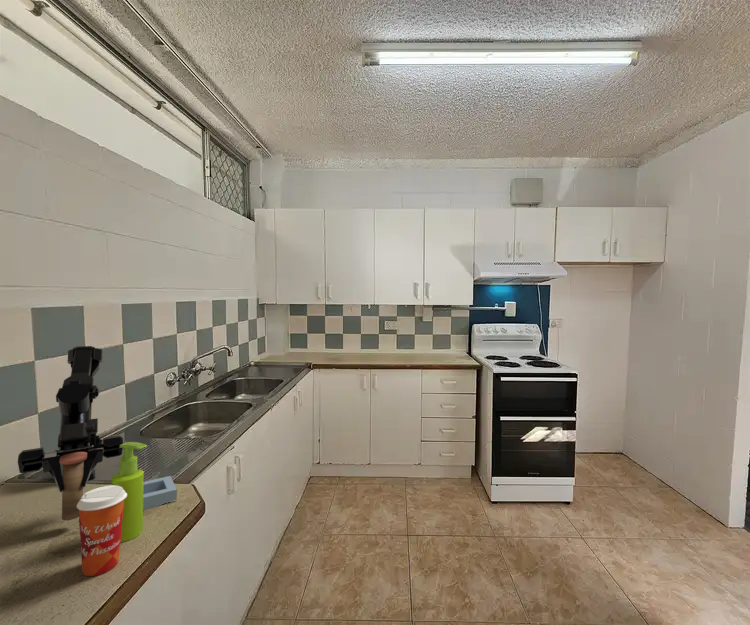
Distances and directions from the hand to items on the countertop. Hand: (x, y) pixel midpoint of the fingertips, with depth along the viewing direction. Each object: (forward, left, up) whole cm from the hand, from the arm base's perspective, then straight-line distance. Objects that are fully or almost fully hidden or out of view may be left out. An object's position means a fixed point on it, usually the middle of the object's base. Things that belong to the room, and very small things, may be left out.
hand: (72, 488), depth 82 cm
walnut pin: (-1, 0, -7) cm, 7 cm away
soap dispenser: (+8, +10, -10) cm, 16 cm away
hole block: (-7, +16, -9) cm, 20 cm away
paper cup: (+17, +5, -10) cm, 21 cm away
